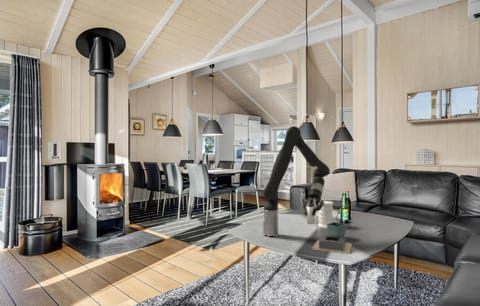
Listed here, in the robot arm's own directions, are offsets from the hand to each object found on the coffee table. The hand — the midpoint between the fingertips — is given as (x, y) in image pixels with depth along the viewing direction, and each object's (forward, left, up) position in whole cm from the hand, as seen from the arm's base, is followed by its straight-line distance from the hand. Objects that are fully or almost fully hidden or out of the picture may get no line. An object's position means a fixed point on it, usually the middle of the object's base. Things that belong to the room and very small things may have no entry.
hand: (309, 214), depth 177 cm
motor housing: (+13, +1, -18) cm, 22 cm away
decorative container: (+2, +50, -18) cm, 53 cm away
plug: (0, +2, -6) cm, 6 cm away
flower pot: (+13, +21, -18) cm, 31 cm away
